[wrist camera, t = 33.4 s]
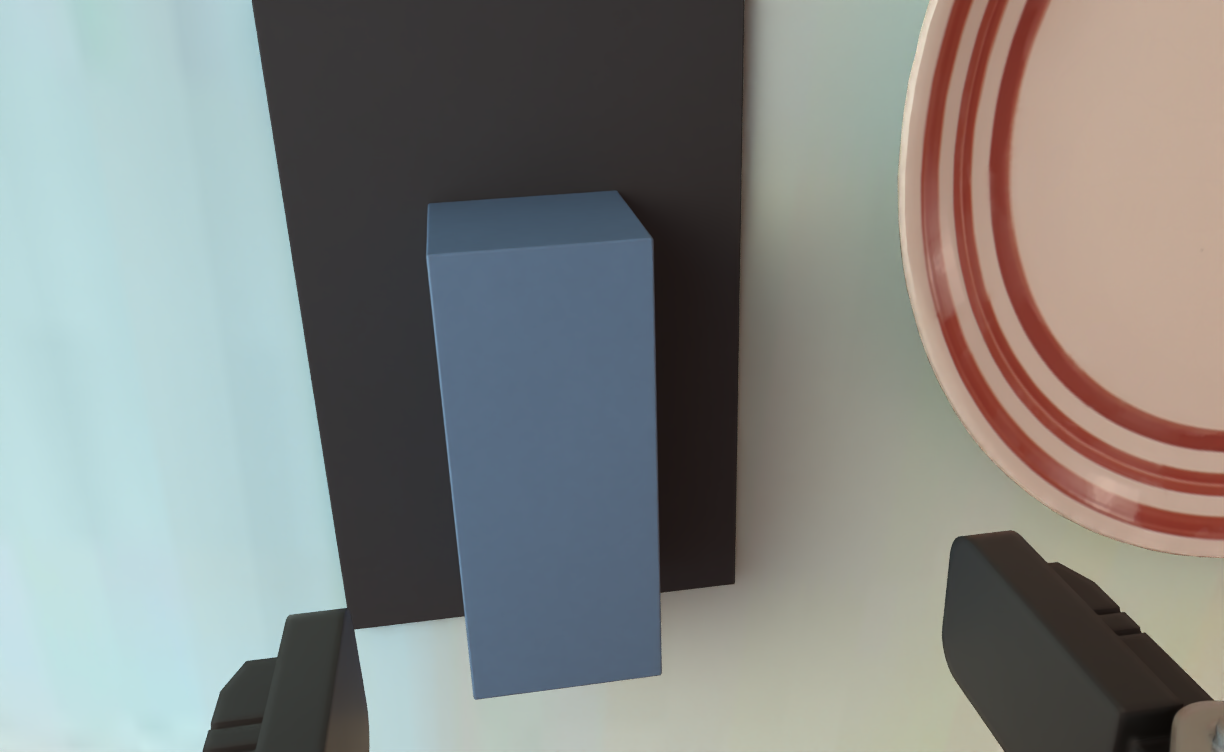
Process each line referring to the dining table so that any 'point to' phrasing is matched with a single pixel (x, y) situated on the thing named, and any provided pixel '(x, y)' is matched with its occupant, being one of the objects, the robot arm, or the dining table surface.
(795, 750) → the dining table surface
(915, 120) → the dinner plate
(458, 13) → the mat
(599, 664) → the blue block
